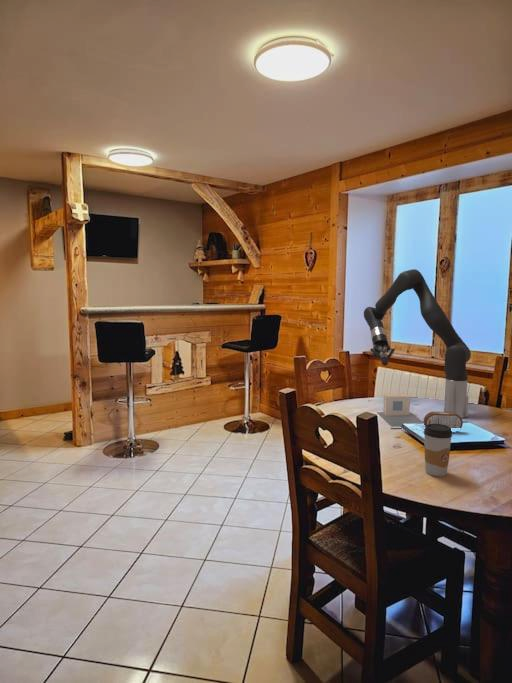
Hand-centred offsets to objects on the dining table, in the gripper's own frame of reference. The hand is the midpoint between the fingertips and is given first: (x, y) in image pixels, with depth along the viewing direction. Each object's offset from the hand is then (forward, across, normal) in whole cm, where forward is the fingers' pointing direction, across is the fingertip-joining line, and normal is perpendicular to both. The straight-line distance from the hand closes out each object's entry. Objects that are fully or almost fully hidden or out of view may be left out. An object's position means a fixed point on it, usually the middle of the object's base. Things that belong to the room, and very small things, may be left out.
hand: (385, 364), depth 220 cm
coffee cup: (+73, -8, -42) cm, 85 cm away
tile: (+27, 0, +1) cm, 27 cm away
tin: (+44, +12, -13) cm, 47 cm away
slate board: (+33, 0, -3) cm, 33 cm away
